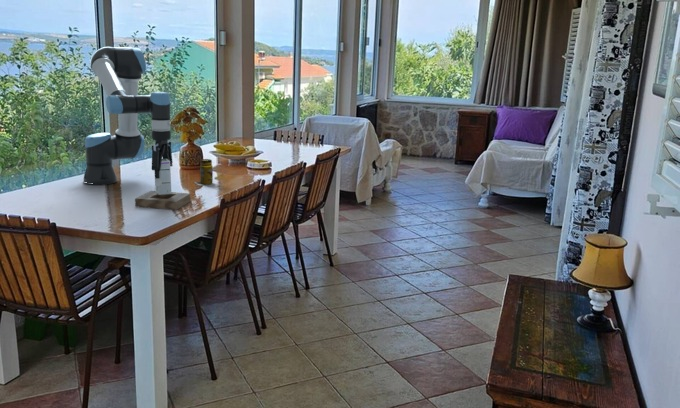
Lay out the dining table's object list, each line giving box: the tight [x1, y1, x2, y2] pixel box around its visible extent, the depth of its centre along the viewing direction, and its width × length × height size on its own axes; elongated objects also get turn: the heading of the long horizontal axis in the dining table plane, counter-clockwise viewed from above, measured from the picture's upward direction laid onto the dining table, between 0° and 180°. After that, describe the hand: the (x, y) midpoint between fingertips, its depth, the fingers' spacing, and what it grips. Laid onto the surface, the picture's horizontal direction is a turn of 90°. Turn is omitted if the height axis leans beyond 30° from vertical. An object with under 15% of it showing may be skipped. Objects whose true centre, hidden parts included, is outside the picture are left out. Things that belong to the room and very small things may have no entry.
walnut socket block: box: [134, 190, 191, 211], centre depth 253 cm, size 18×15×4 cm
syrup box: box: [155, 157, 172, 195], centre depth 251 cm, size 6×6×14 cm
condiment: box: [194, 158, 215, 186], centre depth 293 cm, size 7×8×12 cm
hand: (162, 183), depth 252 cm, fingers closed on syrup box, 8 cm apart
